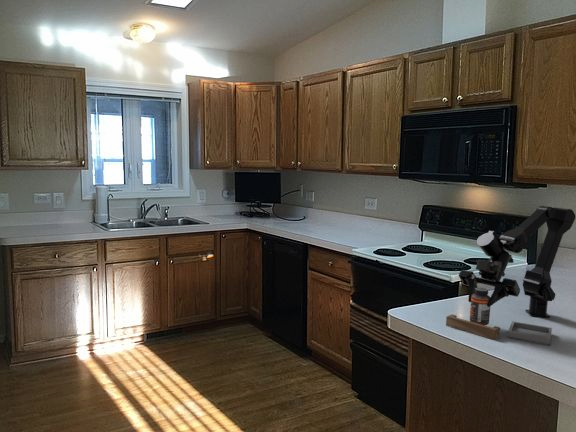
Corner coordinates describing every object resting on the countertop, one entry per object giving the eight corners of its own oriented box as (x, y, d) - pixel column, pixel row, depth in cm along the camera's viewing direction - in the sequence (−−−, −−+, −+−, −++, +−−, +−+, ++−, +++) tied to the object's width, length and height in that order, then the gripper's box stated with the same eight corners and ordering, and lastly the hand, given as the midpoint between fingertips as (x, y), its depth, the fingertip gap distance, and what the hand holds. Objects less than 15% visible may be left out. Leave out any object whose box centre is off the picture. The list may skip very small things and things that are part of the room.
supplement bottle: (466, 319, 165) (468, 286, 164) (483, 319, 165) (486, 286, 164) (474, 326, 159) (476, 291, 158) (492, 326, 159) (495, 291, 158)
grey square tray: (511, 327, 164) (512, 321, 164) (551, 334, 159) (551, 327, 159) (507, 337, 154) (508, 331, 154) (549, 345, 149) (550, 339, 149)
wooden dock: (451, 323, 167) (452, 314, 166) (499, 337, 155) (500, 327, 154) (445, 325, 164) (446, 316, 164) (494, 339, 152) (494, 330, 152)
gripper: (463, 246, 169) (443, 283, 163) (519, 255, 155) (500, 296, 149) (472, 265, 175) (454, 302, 169) (527, 276, 161) (510, 316, 155)
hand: (478, 303), depth 160 cm, fingers closed on supplement bottle, 6 cm apart
